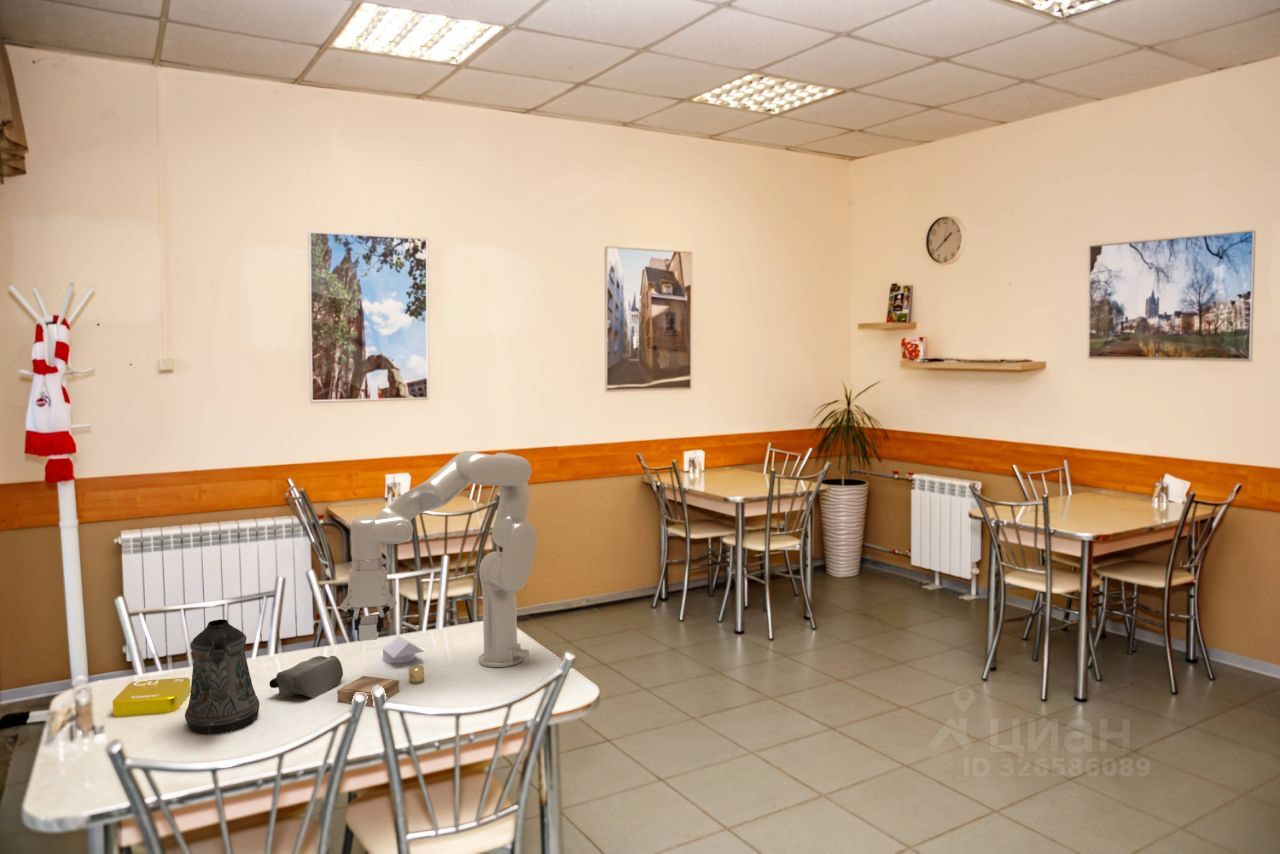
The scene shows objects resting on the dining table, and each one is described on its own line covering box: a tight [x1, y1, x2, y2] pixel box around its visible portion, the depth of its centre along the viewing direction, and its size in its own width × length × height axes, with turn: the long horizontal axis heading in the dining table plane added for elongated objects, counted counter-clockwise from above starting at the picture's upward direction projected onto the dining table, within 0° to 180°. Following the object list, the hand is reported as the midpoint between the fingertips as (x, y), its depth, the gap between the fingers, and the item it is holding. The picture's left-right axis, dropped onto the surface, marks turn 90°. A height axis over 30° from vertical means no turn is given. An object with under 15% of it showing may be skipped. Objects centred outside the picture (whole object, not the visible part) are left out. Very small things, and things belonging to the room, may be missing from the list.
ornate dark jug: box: [184, 619, 261, 736], centre depth 223 cm, size 16×19×25 cm
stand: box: [337, 675, 400, 708], centre depth 240 cm, size 11×11×3 cm
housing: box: [358, 614, 380, 642], centre depth 245 cm, size 8×4×4 cm, turn 11°
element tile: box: [111, 677, 191, 718], centre depth 237 cm, size 15×15×5 cm
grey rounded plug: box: [268, 655, 344, 699], centre depth 246 cm, size 18×11×8 cm, turn 158°
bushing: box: [408, 664, 425, 686], centre depth 250 cm, size 4×4×4 cm
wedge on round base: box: [382, 635, 425, 664], centre depth 268 cm, size 9×7×13 cm
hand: (369, 631), depth 245 cm, fingers closed on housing, 4 cm apart
